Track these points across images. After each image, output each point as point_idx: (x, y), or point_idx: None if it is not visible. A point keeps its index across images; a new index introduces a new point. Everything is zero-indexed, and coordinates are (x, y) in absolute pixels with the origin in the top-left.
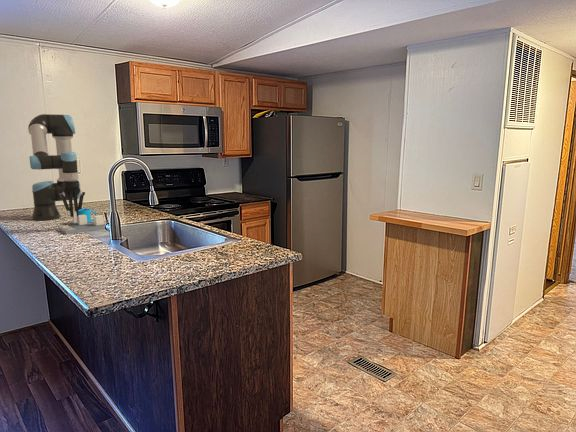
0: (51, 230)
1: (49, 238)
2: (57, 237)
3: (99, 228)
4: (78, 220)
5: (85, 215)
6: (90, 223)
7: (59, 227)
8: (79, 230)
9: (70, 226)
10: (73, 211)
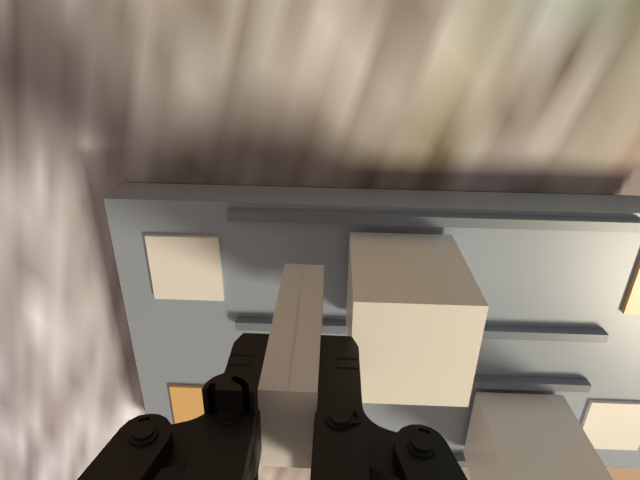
0: (47, 114)
1: (26, 447)
2: (86, 455)
3: None
4: (348, 317)
5: (457, 394)
6: (502, 273)
7: (116, 245)
8: None
9: (241, 280)
10: (262, 464)
